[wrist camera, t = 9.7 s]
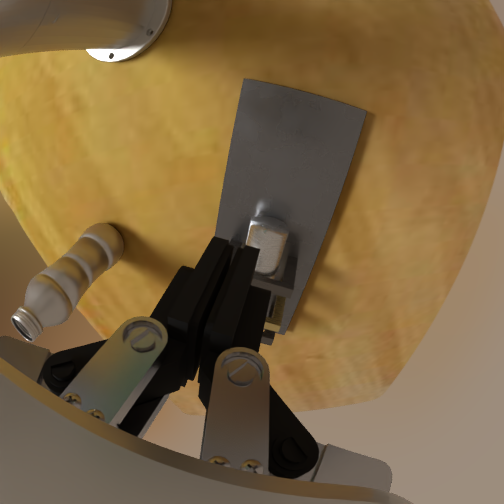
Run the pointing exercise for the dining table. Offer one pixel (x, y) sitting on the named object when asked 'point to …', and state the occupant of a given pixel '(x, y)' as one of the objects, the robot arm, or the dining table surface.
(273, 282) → the collar
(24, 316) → the plastic bottle
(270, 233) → the tube
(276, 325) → the aperture bridge
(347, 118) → the plate
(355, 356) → the dining table surface
